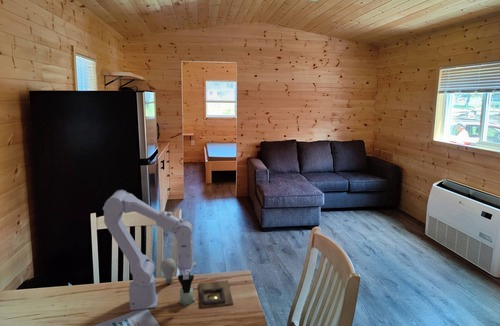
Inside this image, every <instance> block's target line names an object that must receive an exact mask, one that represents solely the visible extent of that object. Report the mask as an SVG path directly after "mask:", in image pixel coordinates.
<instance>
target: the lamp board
mask: <svg viewBox="0 0 500 326" xmlns="http://www.w3.org/2000/svg"><path fill="white" fill-rule="evenodd" d="M213 288H223V290H224V295H225V303H219V304H209V305H203V301H202V290H203V289H213ZM198 289H199V301H200V309H206V308H214V307H224V306H225V307H226V306H233V305H234V301H233V297H232V293H231V289H230V283H229V280H228V279H227V280H219V281H207V282H200V283H199V282H198ZM210 294H217V295H219V299H223V298H222V293H221V292H212V293H204V297H205V301H208V295H210Z"/></svg>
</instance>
